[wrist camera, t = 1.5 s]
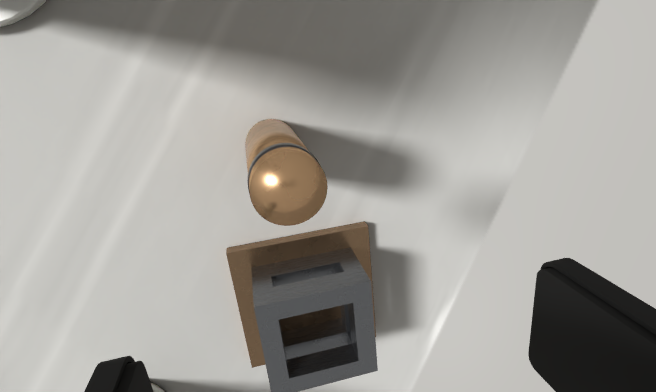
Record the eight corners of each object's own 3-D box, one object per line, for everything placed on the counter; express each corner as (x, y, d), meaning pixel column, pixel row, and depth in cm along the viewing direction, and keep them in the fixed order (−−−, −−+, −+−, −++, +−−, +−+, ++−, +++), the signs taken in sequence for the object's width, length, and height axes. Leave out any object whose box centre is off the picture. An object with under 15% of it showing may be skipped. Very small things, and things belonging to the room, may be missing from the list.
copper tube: (240, 122, 29) (241, 157, 18) (294, 114, 29) (324, 144, 19) (249, 174, 30) (255, 232, 20) (300, 165, 31) (331, 218, 21)
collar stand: (226, 247, 32) (224, 291, 26) (364, 221, 34) (391, 256, 28) (251, 359, 36) (254, 419, 30) (372, 330, 38) (397, 381, 32)
